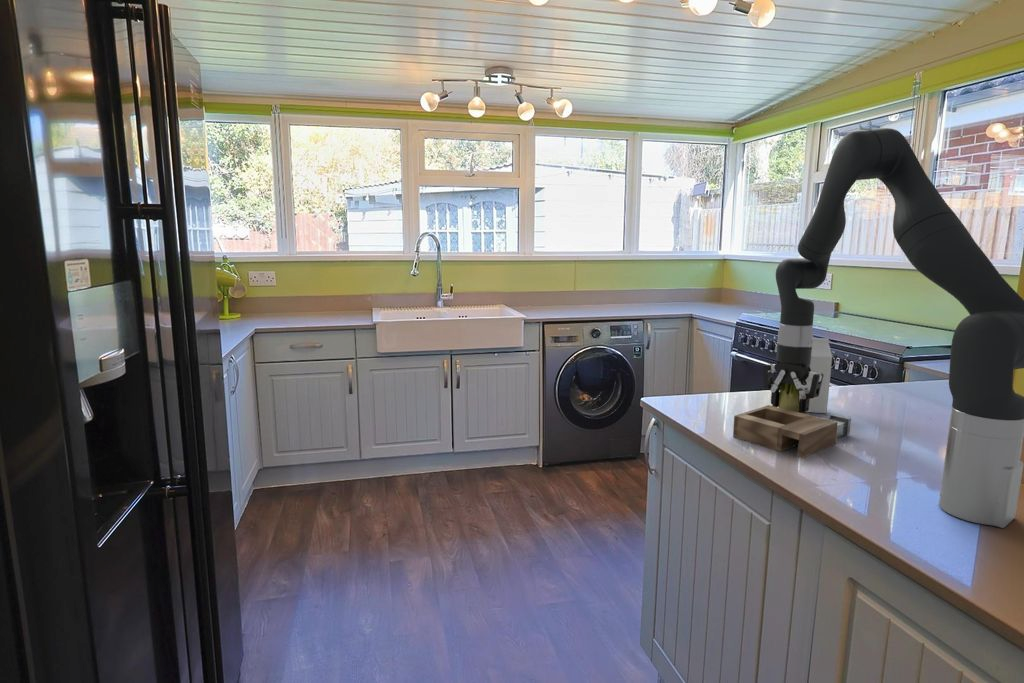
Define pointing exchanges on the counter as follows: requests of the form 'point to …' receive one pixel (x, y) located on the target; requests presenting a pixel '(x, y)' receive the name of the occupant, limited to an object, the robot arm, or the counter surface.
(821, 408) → the milk carton
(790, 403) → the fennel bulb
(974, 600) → the counter surface
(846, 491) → the counter surface
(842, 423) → the lock pin
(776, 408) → the dock
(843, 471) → the counter surface
